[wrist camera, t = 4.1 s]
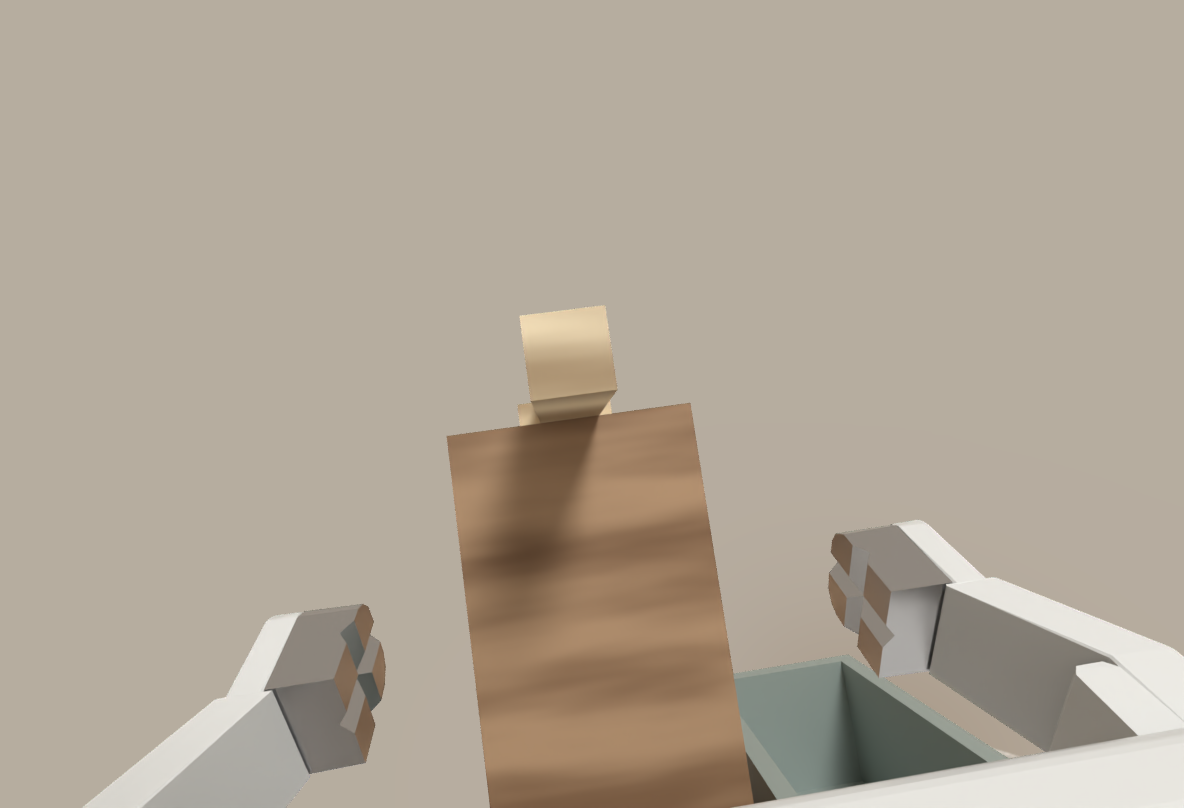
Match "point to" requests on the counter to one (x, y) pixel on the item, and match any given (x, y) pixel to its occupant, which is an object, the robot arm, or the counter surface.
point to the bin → (841, 730)
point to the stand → (597, 615)
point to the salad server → (567, 365)
